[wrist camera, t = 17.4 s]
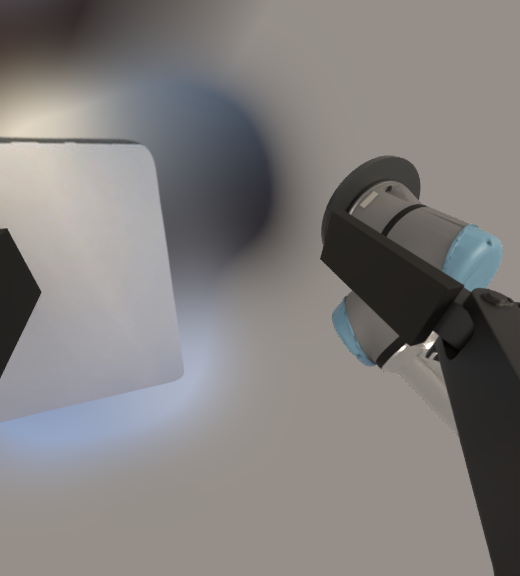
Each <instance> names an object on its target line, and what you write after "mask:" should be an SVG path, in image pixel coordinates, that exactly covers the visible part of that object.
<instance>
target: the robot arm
mask: <svg viewBox="0 0 520 576" xmlns="http://www.w3.org/2000/svg"><path fill="white" fill-rule="evenodd" d="M502 255H503V247H502V244H501V242H500V240H499V239H498V238H496V237H495V236H493V235H491V234H489V233H487V232H485V231H483V230H481V229H479V227H477V226H476V225H473V224H469V223H466V222H464V221H461V220H459V219H457V218H454V217H452V216H449V215H447V214H445V213H442V212H440V211H437V210H435V209H432V208H430V207H427V206H425V205H423V204H421V202H420V201H419V200H418V199H417V198H416V197H415V196H414V195H413V194H412V193H411V192H410V190H409V189H408V188H407V187H406V186H404V185H403V184H401V183H399V182H396V181H394V180H389V179H386V180H380V181H377V182H374V183H372V184H371V185H369V186H367V187H366V188H365V189H363V190H362V191H361V192H360V193H359V194H358V195H357V196H356V197H355V198H354V200H353V201H352V202H351V204H350V205H349V207H348V209H347V211H339V212H332V216H331V220H330V223H329V227H328V231H327V235H326V239H325V242H324V246H323V250H322V254H321V258H320V259H321V260H322V261H323V262H324V263H325V264H326V265H327V266H328V267H329V268H330V269H331V270H332V271H333V272H334V273H335V274H336V275H337V276H338V277H339V278H340V279H341V280H342V281H343V282H344V283H345V284H346V285H347V286H348V287H349V288H351V289H352V290H353V291H352V292H350V293H349V294H348V296H345V297H344V299H343V301H342V302H341V303H340V304H339V306H337V308H336V309H335V310H334V311H333V314H332V321H333V325H334V328H335V330H336V332H337V333H338V335H339V337H340V338H341V340H342V341H343V343H344V344H345V345H346V347H347V348H348V349H349V351H350V352H351V353H352V354H353V355H355V356H356V357H357V358H358V360H359V361H361V362H362V363H363V364H364V365H366V366H375V365H376V364H377V365H378V366H379V367H380V368H381V370H383V371H384V372H390V373H396V374H398V375H400V376H401V377H402V378H403V379H404V380H405V381H406V382H407V383H408V384H409V385H410V387H412V389H413V390H414V391H415V392H416V393H417V394H418V395H419V396H420V397H421V398H422V399H423V400H424V401H425V402H426V403H427V404H428V405H429V406H430V408H431V409H432V410H433V411H434V412H436V414H437V415H438V416H439V417H440V418H441V419H442V420H443V421H444V422H445V423H446V424H447V425H448V426H449V427H450V428H451V430H452V431H454V433H456V435H457V436H458V437H459V438H460V443H461V446H462V450H463V454H464V458H465V461H466V465H467V469H468V473H469V477H470V481H471V485H472V488H473V492H474V496H475V500H476V504H477V508H478V511H479V515H480V519H481V523H482V527H483V531H484V535H485V538H486V542H487V546H488V550H489V553H490V558H491V561H492V565H493V570H494V576H520V303H519V302H514V301H513V300H512V299H511V298H509V297H506V296H505V295H503V294H501V293H498V292H496V291H493V290H490V289H485V288H486V287H487V285H488V284H489V283H490V281H491V280H492V278H493V277H494V275H495V274H496V272H497V269H498V268H499V265H500V263H501V260H502ZM40 294H41V290H40V289H39V287H38V285H37V283H36V281H35V279H34V277H33V276H32V274H31V272H30V270H29V268H28V266H27V264H26V263H25V261H24V259H23V257H22V255H21V253H20V251H19V250H18V248H17V246H16V244H15V242H14V240H13V238H12V237H11V235H10V233H9V231H8V229H0V378H1V375H2V373H3V371H4V369H5V367H6V365H7V363H8V361H9V359H10V357H11V355H12V353H13V351H14V348H15V346H16V344H17V342H18V340H19V338H20V336H21V334H22V332H23V330H24V328H25V326H26V324H27V321H28V319H29V317H30V315H31V313H32V311H33V309H34V307H35V305H36V303H37V301H38V299H39V297H40Z"/></svg>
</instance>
